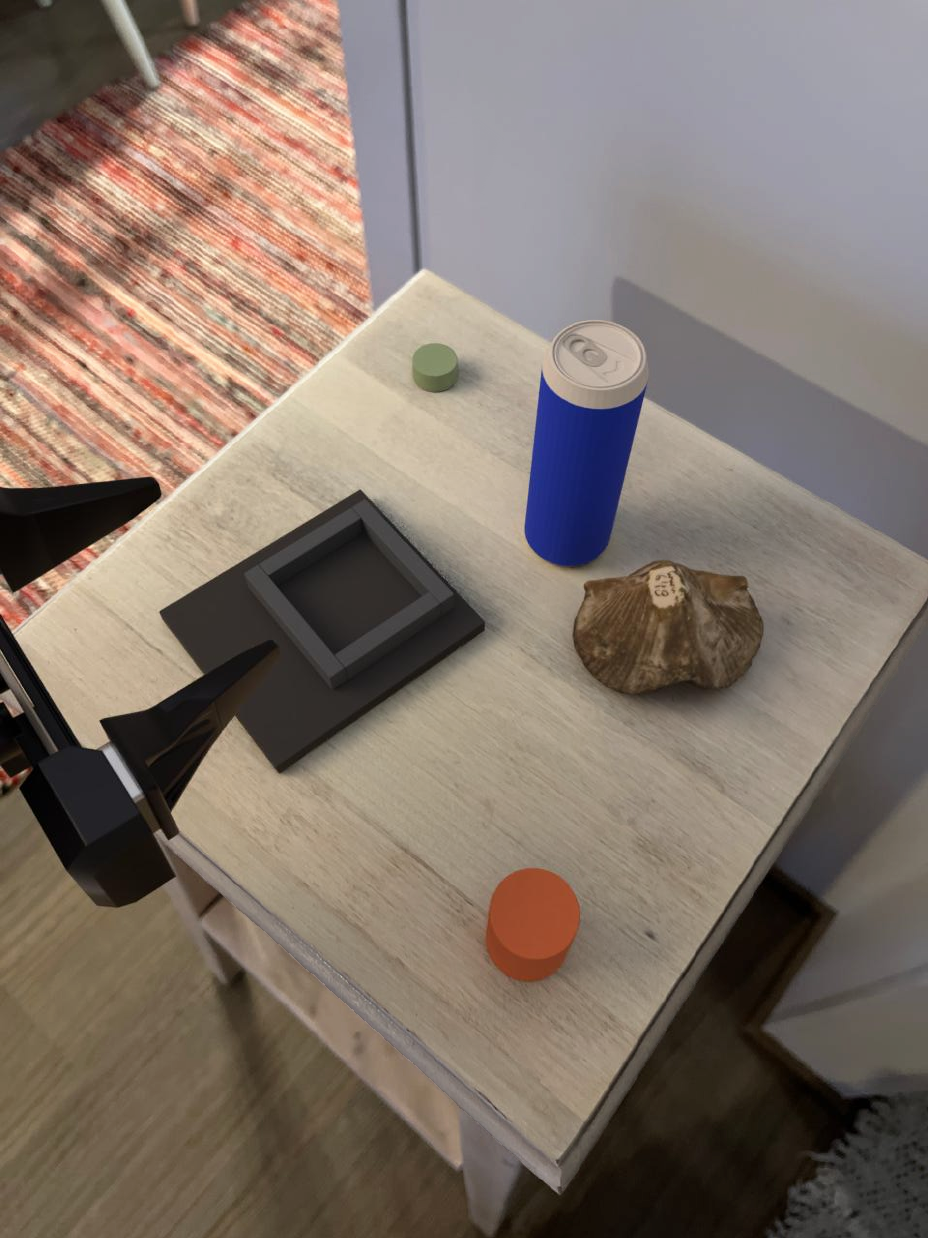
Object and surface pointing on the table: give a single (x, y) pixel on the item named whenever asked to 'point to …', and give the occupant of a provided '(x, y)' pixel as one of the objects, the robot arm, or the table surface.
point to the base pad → (325, 624)
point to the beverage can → (583, 439)
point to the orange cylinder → (531, 924)
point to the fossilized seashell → (667, 629)
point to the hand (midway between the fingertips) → (215, 563)
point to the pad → (435, 367)
